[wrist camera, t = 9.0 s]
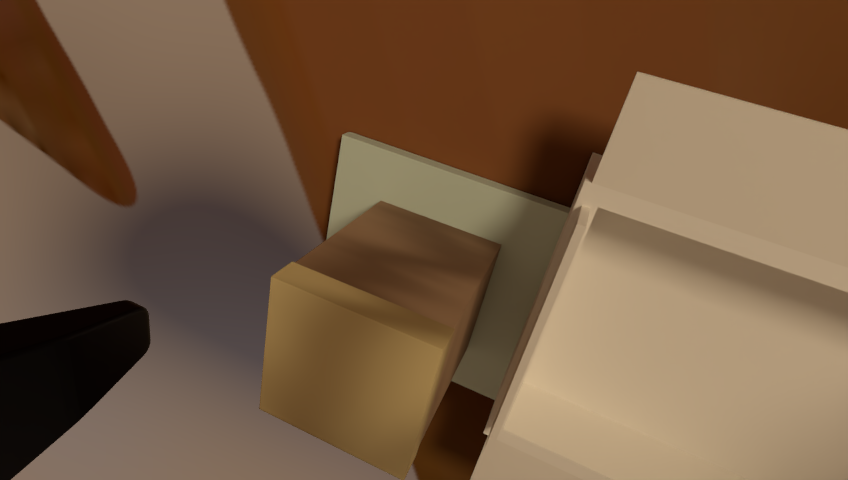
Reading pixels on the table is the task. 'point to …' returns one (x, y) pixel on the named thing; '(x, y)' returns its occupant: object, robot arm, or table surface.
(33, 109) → the table surface
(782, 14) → the table surface
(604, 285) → the cream tray
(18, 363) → the robot arm
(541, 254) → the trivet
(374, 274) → the tea box
